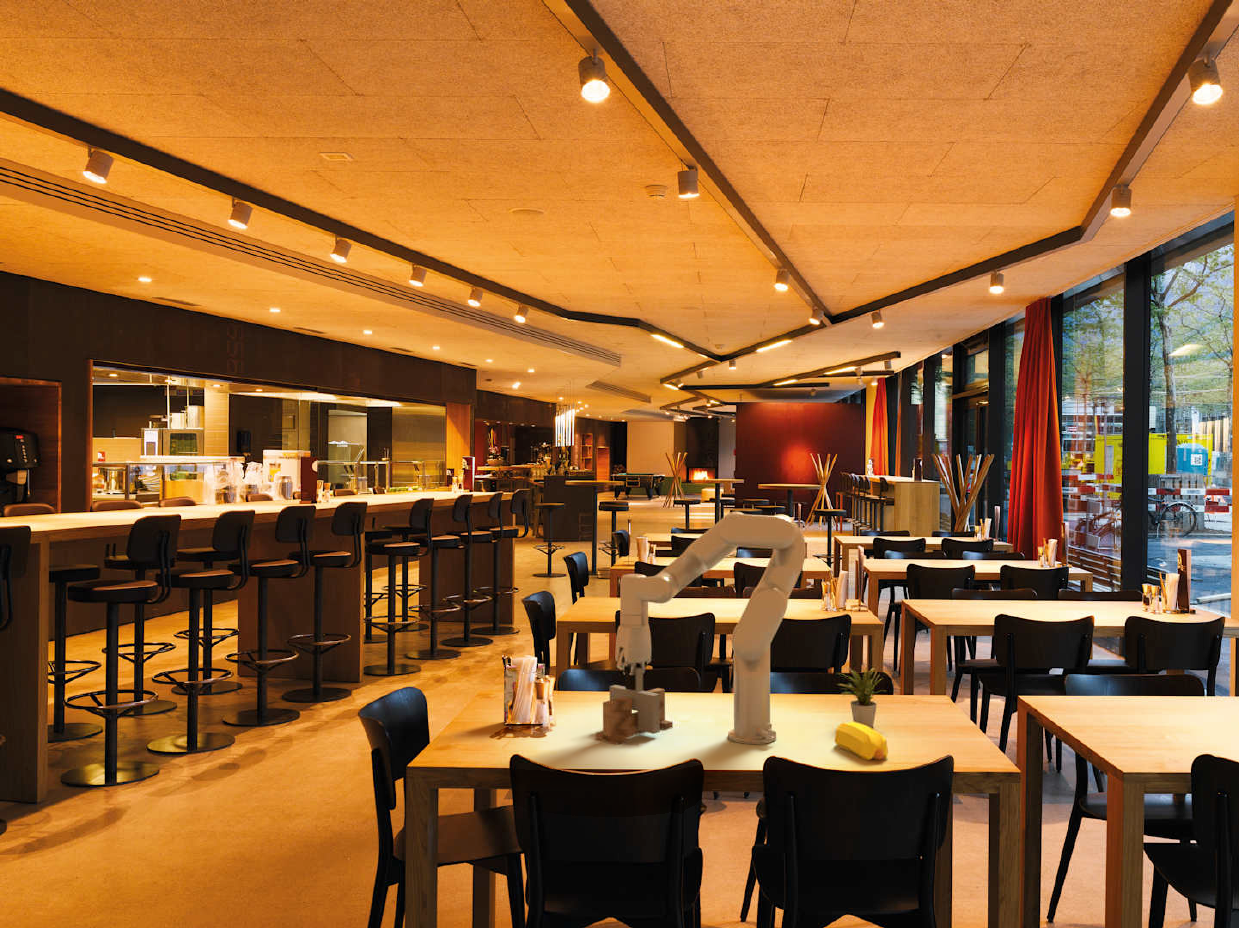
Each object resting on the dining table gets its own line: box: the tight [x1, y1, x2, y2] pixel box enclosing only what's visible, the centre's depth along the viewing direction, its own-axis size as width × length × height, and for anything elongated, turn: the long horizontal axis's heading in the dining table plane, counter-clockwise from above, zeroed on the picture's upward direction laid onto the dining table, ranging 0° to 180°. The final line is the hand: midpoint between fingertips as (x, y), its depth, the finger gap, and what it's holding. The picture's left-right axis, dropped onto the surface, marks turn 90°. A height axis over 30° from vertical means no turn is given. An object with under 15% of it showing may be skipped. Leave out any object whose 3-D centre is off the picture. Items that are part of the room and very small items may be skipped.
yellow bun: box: [834, 721, 889, 761], centre depth 238 cm, size 18×7×8 cm
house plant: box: [837, 667, 886, 729], centre depth 264 cm, size 14×14×16 cm
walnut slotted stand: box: [595, 687, 674, 745], centre depth 257 cm, size 22×8×10 cm, turn 137°
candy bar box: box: [503, 663, 546, 725], centre depth 267 cm, size 11×5×16 cm, turn 92°
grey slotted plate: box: [609, 666, 661, 734], centre depth 257 cm, size 16×2×16 cm, turn 47°
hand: (634, 687), depth 257 cm, fingers closed on grey slotted plate, 2 cm apart
